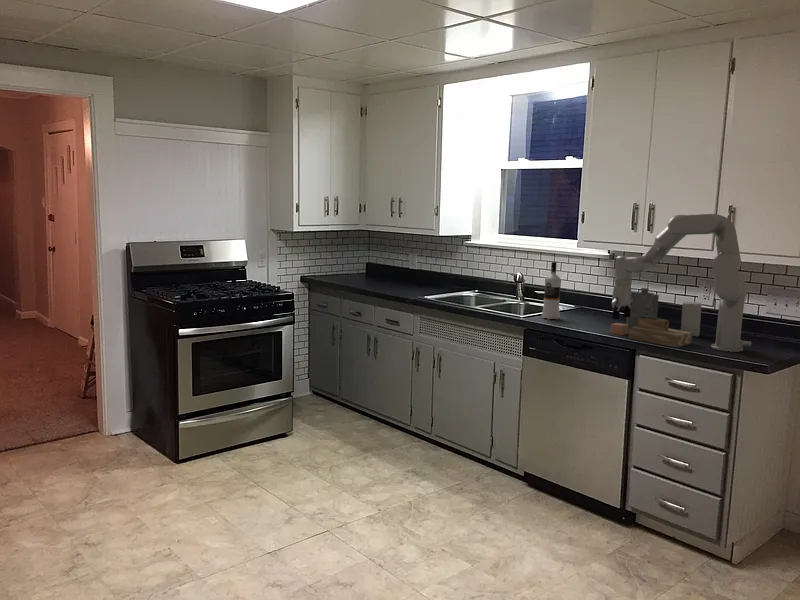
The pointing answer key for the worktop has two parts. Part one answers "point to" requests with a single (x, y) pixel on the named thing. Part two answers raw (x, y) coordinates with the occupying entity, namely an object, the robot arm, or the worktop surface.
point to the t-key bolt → (645, 312)
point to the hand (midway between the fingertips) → (621, 317)
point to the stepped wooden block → (659, 332)
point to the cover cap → (619, 328)
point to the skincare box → (691, 317)
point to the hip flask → (642, 300)
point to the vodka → (552, 295)
